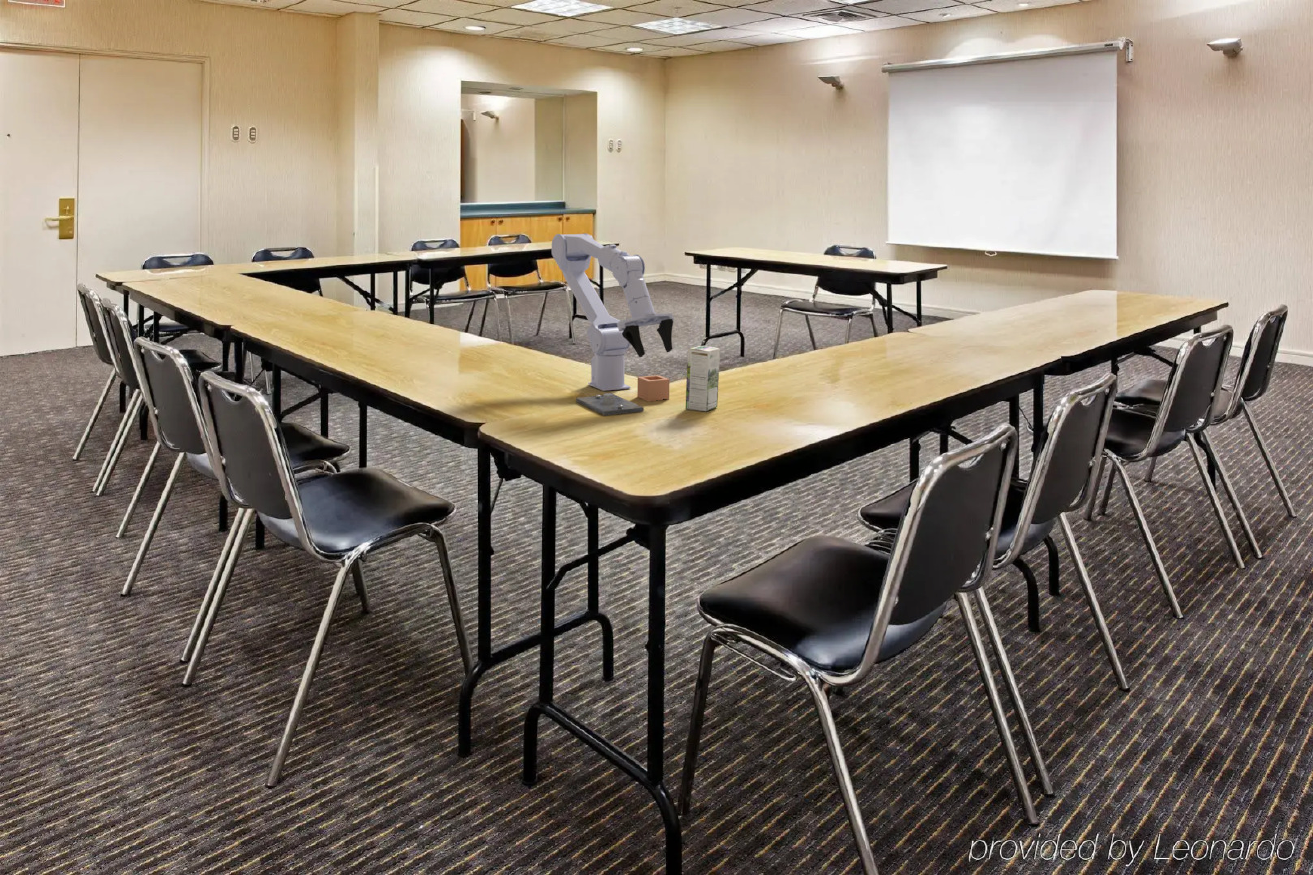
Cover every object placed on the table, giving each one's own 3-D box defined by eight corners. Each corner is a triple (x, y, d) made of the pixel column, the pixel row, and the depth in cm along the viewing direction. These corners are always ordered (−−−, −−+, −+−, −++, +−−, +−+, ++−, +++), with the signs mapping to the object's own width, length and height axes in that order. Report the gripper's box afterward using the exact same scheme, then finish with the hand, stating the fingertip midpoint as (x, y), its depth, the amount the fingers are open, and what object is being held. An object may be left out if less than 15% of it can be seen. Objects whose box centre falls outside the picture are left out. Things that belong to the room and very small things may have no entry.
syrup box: (696, 404, 236) (698, 344, 232) (718, 407, 233) (720, 347, 229) (685, 409, 231) (686, 348, 227) (707, 412, 228) (708, 350, 224)
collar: (637, 396, 243) (637, 377, 242) (657, 394, 246) (658, 375, 245) (648, 401, 238) (648, 381, 237) (669, 399, 241) (669, 379, 240)
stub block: (576, 402, 237) (576, 389, 236) (613, 398, 241) (613, 386, 241) (604, 415, 223) (604, 402, 222) (643, 411, 228) (643, 398, 227)
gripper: (618, 298, 232) (635, 351, 230) (671, 291, 239) (688, 342, 236) (608, 310, 238) (624, 362, 236) (660, 302, 245) (676, 353, 242)
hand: (656, 353), depth 236 cm, fingers open, 7 cm apart
